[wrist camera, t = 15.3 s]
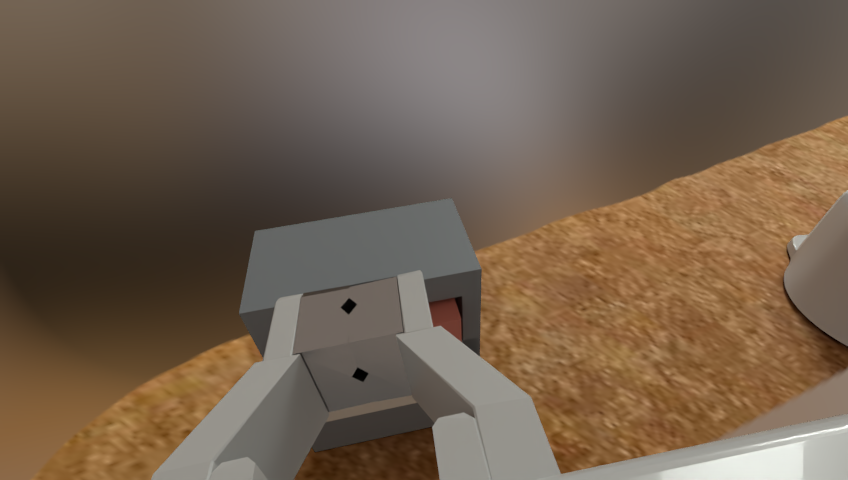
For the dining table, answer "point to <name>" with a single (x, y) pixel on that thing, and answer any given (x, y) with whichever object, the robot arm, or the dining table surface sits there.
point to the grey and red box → (361, 262)
